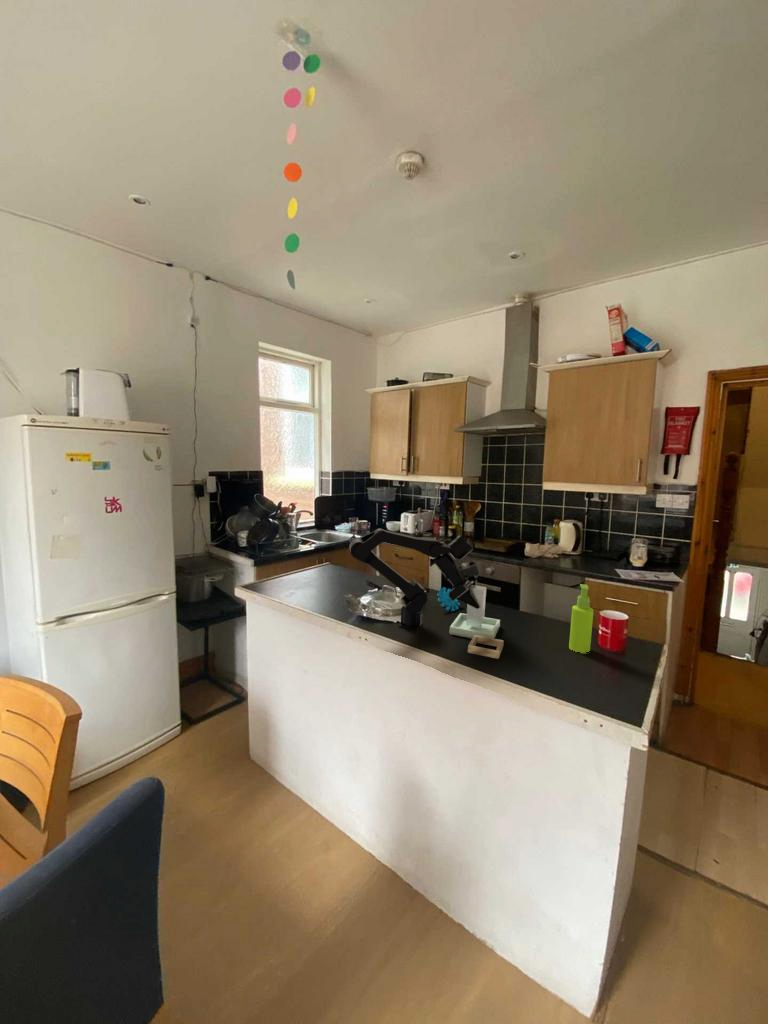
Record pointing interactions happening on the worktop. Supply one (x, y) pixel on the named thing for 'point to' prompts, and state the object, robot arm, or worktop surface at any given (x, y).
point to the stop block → (475, 615)
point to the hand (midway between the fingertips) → (480, 605)
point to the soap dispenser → (581, 623)
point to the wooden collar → (485, 651)
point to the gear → (447, 600)
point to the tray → (464, 630)
